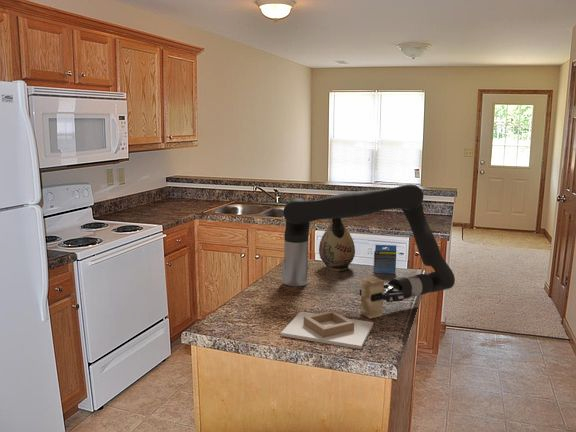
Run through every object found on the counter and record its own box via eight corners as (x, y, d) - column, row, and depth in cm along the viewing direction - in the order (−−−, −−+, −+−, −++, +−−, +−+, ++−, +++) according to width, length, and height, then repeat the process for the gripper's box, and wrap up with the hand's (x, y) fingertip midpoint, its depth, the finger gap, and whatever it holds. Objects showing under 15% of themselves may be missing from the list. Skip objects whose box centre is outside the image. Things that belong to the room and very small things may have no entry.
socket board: (280, 335, 149) (281, 324, 148) (300, 314, 165) (300, 304, 165) (361, 349, 141) (361, 337, 140) (373, 325, 157) (373, 314, 157)
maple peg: (360, 313, 166) (361, 278, 164) (372, 310, 169) (373, 276, 167) (370, 318, 162) (371, 282, 160) (382, 315, 165) (384, 280, 162)
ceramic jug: (317, 263, 225) (319, 196, 220) (352, 263, 225) (355, 197, 219) (319, 274, 209) (320, 202, 203) (356, 275, 208) (359, 203, 203)
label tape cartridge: (394, 271, 215) (395, 243, 212) (395, 274, 211) (397, 245, 208) (373, 270, 215) (374, 242, 213) (373, 273, 212) (375, 244, 209)
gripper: (391, 271, 177) (352, 278, 168) (421, 282, 164) (380, 291, 156) (390, 291, 178) (351, 299, 170) (419, 304, 166) (379, 314, 157)
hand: (366, 295), depth 163 cm, fingers closed on maple peg, 5 cm apart
